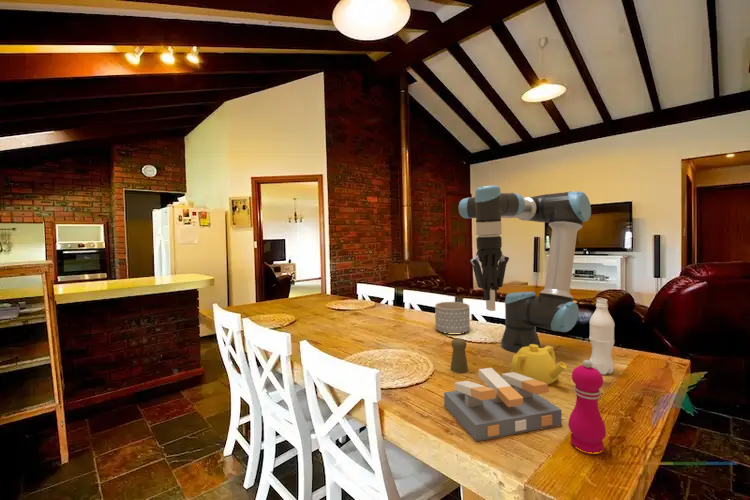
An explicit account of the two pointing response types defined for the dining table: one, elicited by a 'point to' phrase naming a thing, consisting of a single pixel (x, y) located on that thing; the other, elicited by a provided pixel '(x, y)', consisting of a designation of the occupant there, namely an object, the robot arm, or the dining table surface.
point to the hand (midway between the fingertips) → (490, 309)
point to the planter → (452, 317)
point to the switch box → (501, 414)
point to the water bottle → (602, 338)
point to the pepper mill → (587, 409)
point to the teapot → (537, 363)
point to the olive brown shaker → (459, 356)
